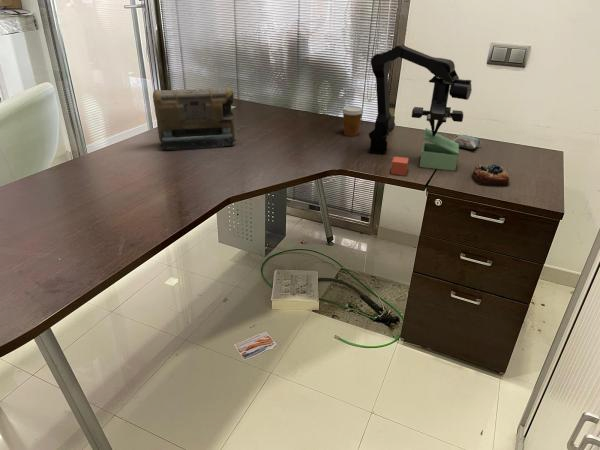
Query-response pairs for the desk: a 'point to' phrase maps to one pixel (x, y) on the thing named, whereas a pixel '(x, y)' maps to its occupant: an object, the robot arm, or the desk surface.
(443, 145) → the lunchbox lid
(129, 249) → the desk surface
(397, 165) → the red cube
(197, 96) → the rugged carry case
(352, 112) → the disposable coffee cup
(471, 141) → the packaged food
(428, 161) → the lunchbox
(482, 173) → the pastry
